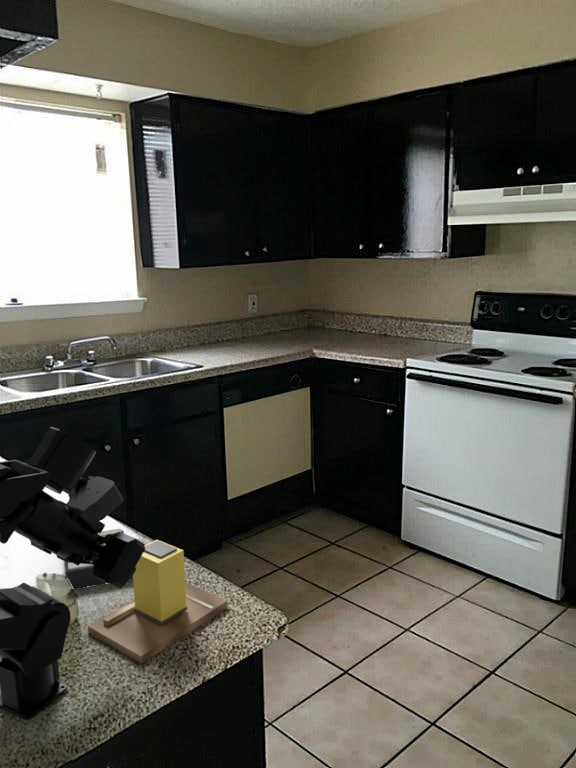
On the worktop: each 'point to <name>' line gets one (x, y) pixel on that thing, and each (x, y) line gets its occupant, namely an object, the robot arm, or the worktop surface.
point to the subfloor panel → (155, 625)
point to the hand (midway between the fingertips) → (123, 566)
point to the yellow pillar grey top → (160, 582)
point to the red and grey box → (86, 570)
